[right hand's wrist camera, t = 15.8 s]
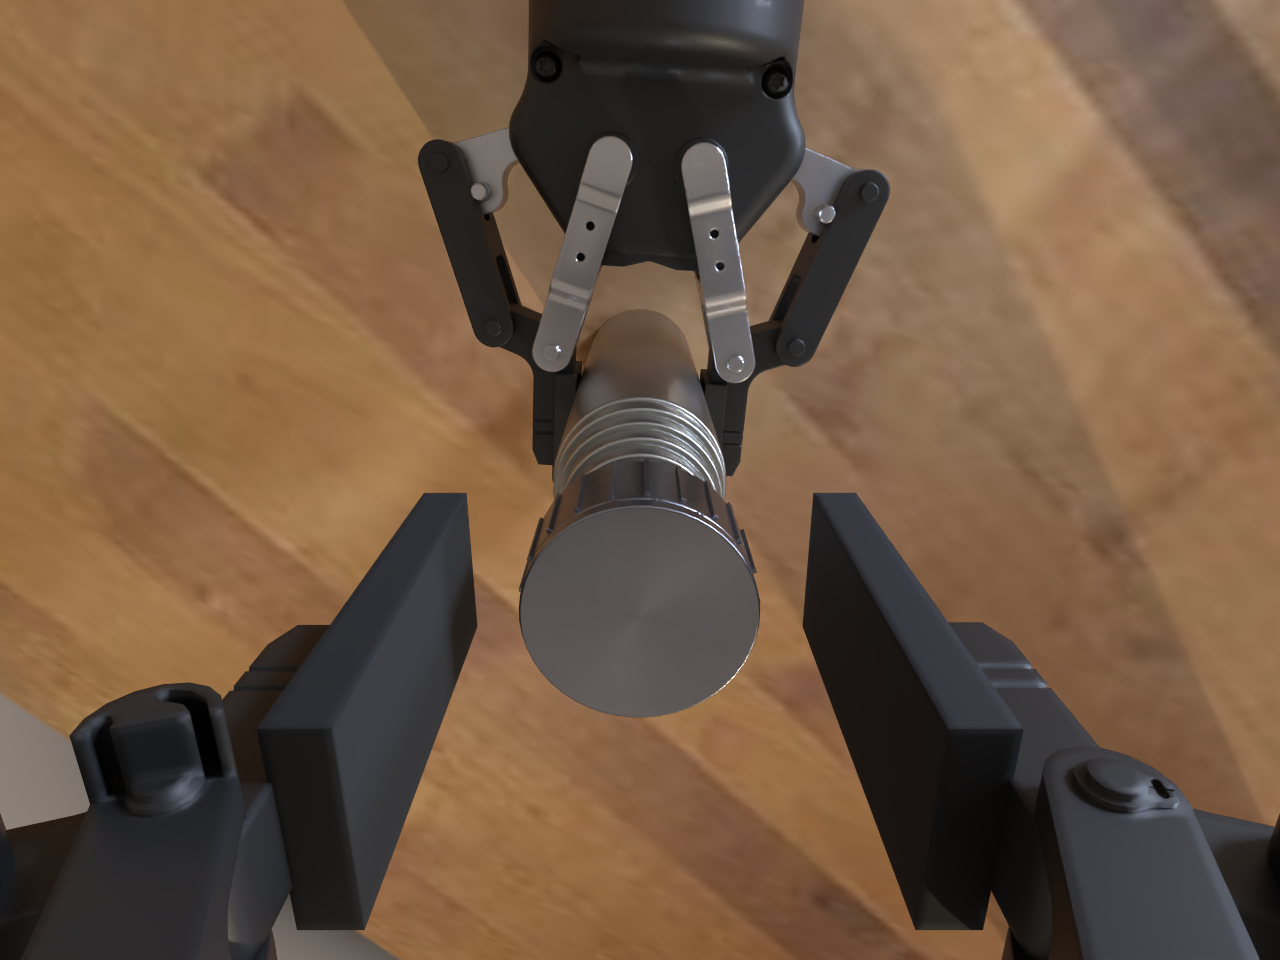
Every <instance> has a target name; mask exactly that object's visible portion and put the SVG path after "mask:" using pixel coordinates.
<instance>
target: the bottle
mask: <svg viewBox="0 0 1280 960" xmlns="http://www.w3.org/2000/svg"><path fill="white" fill-rule="evenodd" d="M644 459H649V462H658V463H663V464H666V465H670V466H674V467H677V465H679V466H681V467H682V470H684V471H687V472H689V473H691V474H693V475H695V476H696V477H698V478H700V479H701V480H703V481H704V482H705V481H706V480H707V481H709V482H710V484H711V487H712V488H713V489H714V490H715V491H716V492H717V493H718V494H719V495H720V496H721V497H722V498H723V499H724V501H725V494H726V469H725V463H724V458H723V455H722V452H721V448H720V445H719V442H718V439H717V435H716V432H715V429H714V426H713V422H712V419H711V416H710V413H709V410H708V406H707V403H706V400H705V397H704V393H703V390H702V387H701V384H700V380H699V377H698V374H697V371H696V368H695V364H694V361H693V358H692V355H691V351H690V348H689V345H688V342H687V340H686V338H685V336H684V334H683V333H682V331H681V330H680V328H679V327H678V326H677V325H676V324H675V323H674V322H673V321H672V320H670V319H669V318H667V317H666V316H664V315H662V314H660V313H657V312H654V311H649V310H631V311H626V312H623V313H620V314H618V315H616V316H614V317H613V318H611V319H610V320H608V321H607V322H606V323H605V324H604V325H603V326H602V327H601V328H600V329H599V331H598V332H597V334H596V335H595V337H594V340H593V342H592V345H591V348H590V351H589V354H588V357H587V361H586V364H585V367H584V370H583V373H582V377H581V380H580V383H579V386H578V389H577V393H576V396H575V399H574V402H573V405H572V408H571V412H570V415H569V418H568V421H567V424H566V428H565V431H564V434H563V437H562V440H561V444H560V447H559V450H558V453H557V456H556V460H555V466H554V480H553V481H554V490H553V491H554V498H555V495H556V494H557V493H558V492H559V493H560V494H561V493H562V492H563V491H564V490H565V489H566V488H567V487H568V486H569V485H571V484H572V483H574V482H575V481H576V480H578V479H579V478H580V475H581V474H583V473H584V474H585V475H586V474H588V473H590V472H592V471H594V470H597V469H600V468H602V467H605V466H609V465H610V464H611V462H615V463H616V464H617V463H623V462H632V461H644Z"/></svg>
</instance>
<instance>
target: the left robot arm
mask: <svg viewBox="0 0 1280 960" xmlns="http://www.w3.org/2000/svg"><path fill="white" fill-rule="evenodd" d="M803 4H804V0H529V50H528V74H527V80H526V84H525V88H524V90H523V93H522V96H521V98H520V100H519V102H518V104H517V105H516V107H515V109H514V111H513V113H512V116H511V119H510V124H509V127H508V128H505V129H501V130H498V131H495V132H491V133H488V134H484V135H481V136H477V137H474V138H471V139H467V140H464V141H460V142H457V143H452V142H448V141H444V140H438V139H437V140H432V141H429V142H427V143H426V144H425V145H424V146H423V147H422V149H421V150H420V153H419V156H418V165H419V169H420V172H421V175H422V178H423V181H424V184H425V187H426V190H427V193H428V196H429V199H430V202H431V205H432V208H433V211H434V214H435V217H436V220H437V223H438V226H439V229H440V232H441V235H442V238H443V241H444V244H445V247H446V250H447V253H448V256H449V259H450V262H451V265H452V268H453V271H454V274H455V277H456V280H457V283H458V286H459V289H460V292H461V295H462V298H463V301H464V304H465V307H466V310H467V313H468V316H469V319H470V322H471V325H472V328H473V331H474V333H475V336H476V337H477V339H478V340H479V341H480V342H481V343H482V344H484V345H486V346H489V347H501V348H503V349H506V350H508V351H510V352H513V353H515V354H517V355H519V356H521V357H523V358H524V359H525V360H526V361H527V362H528V363H529V365H530V366H531V368H532V371H533V375H534V395H533V452H534V454H535V457H536V459H537V462H538V464H543V465H553V470H552V479H553V480H554V466H555V460H556V456H557V453H558V450H559V447H560V444H561V440H562V437H563V434H564V431H565V428H566V424H567V421H568V418H569V415H570V412H571V408H572V405H573V402H574V399H575V396H576V393H577V389H578V386H579V383H580V380H581V374H582V361H576V345H577V342H578V339H579V336H580V333H581V329H582V326H583V323H584V320H585V317H586V314H587V311H588V308H589V304H590V301H591V298H592V295H593V292H594V289H595V286H596V283H597V280H598V277H599V274H600V271H601V268H602V265H608V266H628V265H632V264H637V263H642V262H647V261H652V262H655V263H658V264H661V265H664V266H667V267H669V268H672V269H675V270H686V271H694V274H695V279H696V284H697V290H698V294H699V299H700V303H701V308H702V313H703V319H704V324H705V330H706V335H707V341H708V346H709V356H708V367H707V369H701V372H700V384H701V387H702V390H703V393H704V397H705V400H706V403H707V406H708V410H709V413H710V416H711V419H712V422H713V426H714V429H715V432H716V435H717V439H718V442H719V445H720V448H721V452H722V455H723V458H724V463H725V469H726V476H733V474H734V472H735V470H736V468H737V466H738V465H739V463H740V457H741V448H742V439H743V430H744V421H745V411H746V402H747V393H748V388H749V385H750V384H751V382H752V380H753V379H754V378H755V377H756V376H757V375H758V374H760V373H762V372H763V371H766V370H769V369H773V368H776V367H780V366H783V365H788V366H792V367H798V366H801V365H804V364H806V363H807V362H808V361H809V360H810V359H811V358H812V357H813V355H814V353H815V351H816V349H817V347H818V345H819V342H820V340H821V338H822V336H823V334H824V332H825V330H826V328H827V326H828V324H829V322H830V319H831V317H832V315H833V313H834V311H835V309H836V307H837V305H838V303H839V301H840V299H841V296H842V294H843V292H844V290H845V288H846V286H847V284H848V282H849V280H850V278H851V276H852V274H853V271H854V269H855V267H856V265H857V263H858V261H859V259H860V257H861V255H862V253H863V251H864V248H865V246H866V244H867V242H868V240H869V238H870V236H871V234H872V232H873V230H874V228H875V225H876V223H877V221H878V219H879V217H880V215H881V213H882V211H883V209H884V207H885V205H886V203H887V200H888V198H889V194H890V186H889V182H888V180H887V178H886V177H885V176H884V175H883V174H882V173H881V172H879V171H876V170H868V169H860V170H855V169H853V168H851V167H848V166H846V165H844V164H842V163H839V162H837V161H835V160H833V159H830V158H828V157H826V156H824V155H821V154H819V153H817V152H815V151H812V150H810V149H808V148H806V147H805V136H804V132H803V129H802V126H801V124H800V121H799V119H798V116H797V112H796V108H795V101H794V82H795V72H796V64H797V55H798V46H799V38H800V29H801V21H802V12H803ZM519 162H520V164H521V165H522V167H523V169H524V170H525V172H526V173H527V175H528V176H529V178H530V180H531V181H532V183H533V184H534V186H535V187H536V189H537V191H538V192H539V194H540V195H541V197H542V198H543V200H544V202H545V203H546V205H547V206H548V208H549V209H550V211H551V212H552V214H553V216H554V217H555V219H556V220H557V222H558V223H559V225H560V227H561V228H562V230H563V231H564V233H565V237H564V240H563V244H562V247H561V250H560V254H559V257H558V260H557V264H556V267H555V270H554V274H553V277H552V281H551V284H550V289H549V294H548V298H547V301H546V304H545V308H544V311H543V314H540V313H538V312H535V311H533V310H531V309H529V308H526V307H524V306H522V305H521V302H520V299H519V296H518V292H517V289H516V286H515V283H514V279H513V276H512V273H511V270H510V266H509V263H508V260H507V257H506V253H505V250H504V247H503V244H502V241H501V237H500V234H499V231H498V228H497V224H496V221H495V218H494V215H493V212H495V211H498V210H500V209H501V208H502V207H503V206H504V205H505V203H506V202H507V199H508V186H507V179H508V175H509V172H510V170H511V169H512V168H513V167H514V166H515V165H516V164H518V163H519ZM790 181H791V182H792V183H793V184H794V185H795V186H796V188H797V190H798V193H799V204H798V208H797V213H796V216H797V221H798V224H799V225H800V227H801V228H802V229H803V230H805V231H806V232H808V235H807V238H806V240H805V242H804V244H803V246H802V249H801V251H800V253H799V255H798V257H797V260H796V262H795V264H794V266H793V269H792V271H791V273H790V275H789V277H788V280H787V282H786V284H785V286H784V288H783V291H782V293H781V295H780V297H779V299H778V302H777V304H776V306H775V308H774V311H773V313H772V315H771V317H770V319H769V321H767V322H764V323H760V324H757V325H753V326H750V327H749V320H748V314H747V308H746V292H745V285H744V279H743V273H742V267H741V261H740V255H739V248H738V243H739V242H740V241H741V239H742V238H743V237H744V236H745V235H746V233H747V232H748V231H749V230H750V229H751V227H752V226H753V225H754V224H755V223H756V221H757V220H758V219H759V218H760V217H761V215H762V214H763V213H764V212H765V211H766V209H767V208H768V207H769V206H770V205H771V203H772V202H773V201H774V200H775V199H776V197H777V196H778V195H779V194H780V193H781V191H782V190H783V189H784V188H785V187H786V185H787V184H788V183H789V182H790ZM553 482H554V481H553Z"/></svg>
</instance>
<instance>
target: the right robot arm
mask: <svg viewBox="0 0 1280 960" xmlns="http://www.w3.org/2000/svg"><path fill="white" fill-rule="evenodd" d="M476 629H477V616H476V604H475V592H474V579H473V567H472V555H471V543H470V530H469V518H468V506H467V494H466V493H424V494H423V495H422V497H421V498H420V499H419V501H418V502H417V504H416V505H415V506H414V508H413V509H412V511H411V512H410V513H409V515H408V516H407V518H406V519H405V520H404V522H403V523H402V525H401V526H400V528H399V529H398V530H397V532H396V533H395V535H394V536H393V537H392V539H391V540H390V542H389V543H388V544H387V546H386V547H385V549H384V550H383V551H382V553H381V554H380V556H379V557H378V558H377V560H376V561H375V563H374V564H373V566H372V567H371V568H370V570H369V571H368V573H367V574H366V575H365V577H364V578H363V580H362V581H361V582H360V584H359V585H358V587H357V588H356V589H355V591H354V592H353V594H352V595H351V596H350V598H349V599H348V601H347V602H346V603H345V605H344V606H343V608H342V609H341V611H340V612H339V613H338V615H337V616H336V618H335V619H334V620H333V622H332V623H331V625H297V626H296V627H294V628H293V629H291V630H289V631H288V632H286V633H285V634H283V635H282V636H280V637H279V638H277V639H275V640H274V641H272V642H271V643H269V644H268V645H267V646H266V647H265V648H264V650H263V651H262V652H261V653H260V655H259V656H258V657H257V658H256V660H255V661H254V662H253V663H252V664H251V666H250V667H249V672H245V673H244V674H243V675H242V677H241V678H240V679H239V680H238V682H237V683H236V684H235V685H234V690H233V691H229V693H228V694H227V695H226V696H225V697H224V699H223V700H222V698H221V695H219V694H218V693H217V692H216V691H214V690H213V689H212V688H210V687H209V686H204V685H199V684H194V683H176V684H162V685H159V686H155V687H151V688H147V689H143V690H139V691H135V692H132V693H130V694H128V695H125V696H123V697H121V698H118V699H116V700H114V701H111V702H109V703H107V704H105V705H104V706H102V707H101V708H99V709H98V710H96V711H95V712H93V713H92V714H90V715H89V716H87V717H86V718H84V719H83V721H82V722H81V723H80V724H79V725H78V726H77V728H76V729H75V730H74V731H73V732H72V733H71V734H70V739H71V742H72V746H73V749H74V752H75V756H76V759H77V762H78V766H79V769H80V772H81V775H82V779H83V782H84V785H85V789H86V792H87V795H88V799H89V802H90V806H89V809H88V811H87V812H84V813H81V814H77V815H74V816H69V817H65V818H60V819H56V820H51V821H46V822H42V823H37V824H32V825H28V826H23V827H19V828H14V829H10V830H6V828H5V826H4V823H3V820H2V817H1V814H0V960H277V955H276V948H275V942H274V937H273V933H272V927H273V925H274V923H275V921H276V919H277V917H278V915H279V913H280V911H281V909H282V907H283V905H284V903H285V901H286V899H287V897H288V895H289V893H290V897H291V902H292V907H293V912H294V917H295V922H296V927H297V930H365V927H366V924H367V922H368V919H369V916H370V914H371V911H372V908H373V906H374V903H375V900H376V898H377V895H378V892H379V889H380V887H381V884H382V881H383V879H384V876H385V873H386V871H387V868H388V865H389V863H390V860H391V857H392V855H393V852H394V849H395V846H396V844H397V841H398V838H399V836H400V833H401V830H402V828H403V825H404V822H405V820H406V817H407V814H408V812H409V809H410V806H411V803H412V801H413V798H414V795H415V793H416V790H417V787H418V785H419V782H420V779H421V777H422V774H423V771H424V768H425V766H426V763H427V760H428V758H429V755H430V752H431V750H432V747H433V744H434V742H435V739H436V736H437V734H438V731H439V728H440V725H441V723H442V720H443V717H444V715H445V712H446V709H447V707H448V704H449V701H450V699H451V696H452V693H453V691H454V688H455V685H456V682H457V680H458V677H459V674H460V672H461V669H462V666H463V664H464V661H465V658H466V656H467V653H468V650H469V648H470V645H471V642H472V639H473V637H474V634H475V631H476ZM803 629H804V631H805V634H806V637H807V639H808V642H809V645H810V648H811V650H812V653H813V656H814V658H815V661H816V664H817V666H818V669H819V672H820V674H821V677H822V680H823V682H824V685H825V688H826V691H827V693H828V696H829V699H830V701H831V704H832V707H833V709H834V712H835V715H836V717H837V720H838V723H839V725H840V728H841V731H842V734H843V736H844V739H845V742H846V744H847V747H848V750H849V752H850V755H851V758H852V760H853V763H854V766H855V768H856V771H857V774H858V777H859V779H860V782H861V785H862V787H863V790H864V793H865V795H866V798H867V801H868V803H869V806H870V809H871V812H872V814H873V817H874V820H875V822H876V825H877V828H878V830H879V833H880V836H881V838H882V841H883V844H884V846H885V849H886V852H887V855H888V857H889V860H890V863H891V865H892V868H893V871H894V873H895V876H896V879H897V881H898V884H899V887H900V889H901V892H902V895H903V898H904V900H905V903H906V906H907V908H908V911H909V914H910V916H911V919H912V922H913V924H914V927H915V930H983V927H984V922H985V917H986V912H987V907H988V902H989V897H990V893H991V891H992V893H993V895H994V897H995V899H996V901H997V903H998V905H999V907H1000V909H1001V911H1002V913H1003V915H1004V917H1005V919H1006V921H1007V923H1008V925H1009V928H1008V932H1007V937H1006V942H1005V946H1004V951H1003V955H1002V960H1280V814H1279V817H1278V820H1277V823H1276V826H1275V827H1273V826H1268V825H1264V824H1259V823H1255V822H1250V821H1245V820H1241V819H1236V818H1232V817H1227V816H1222V815H1218V814H1213V813H1208V812H1205V811H1201V810H1197V809H1194V808H1192V807H1191V805H1190V803H1189V802H1188V800H1187V799H1186V798H1185V796H1184V795H1183V793H1182V792H1181V791H1180V789H1179V788H1178V787H1177V785H1175V784H1174V783H1173V782H1172V781H1170V780H1169V779H1168V778H1166V777H1165V776H1164V775H1163V774H1161V773H1160V772H1159V771H1157V770H1156V769H1155V768H1153V767H1151V766H1149V765H1147V764H1145V763H1142V762H1140V761H1138V760H1136V759H1134V758H1132V757H1130V756H1128V755H1125V754H1121V753H1118V752H1114V751H1111V750H1107V749H1104V748H1100V747H1099V746H1098V745H1097V744H1096V742H1095V741H1094V740H1093V739H1092V738H1091V736H1090V735H1089V734H1088V733H1087V732H1086V730H1085V729H1084V728H1083V727H1082V725H1081V724H1080V723H1079V722H1078V721H1077V719H1076V718H1075V717H1074V716H1073V715H1072V713H1071V712H1070V711H1069V710H1068V708H1067V707H1066V706H1065V705H1064V704H1063V702H1062V701H1061V700H1060V699H1059V698H1058V696H1057V695H1056V694H1055V693H1054V691H1053V690H1052V689H1051V688H1047V683H1046V682H1045V680H1044V679H1043V678H1042V677H1041V676H1040V674H1039V673H1038V672H1037V671H1036V670H1035V669H1032V668H1031V663H1030V662H1029V661H1028V660H1027V659H1026V657H1025V656H1024V655H1023V654H1022V653H1021V651H1020V650H1019V649H1018V648H1017V646H1016V645H1015V644H1014V643H1013V642H1012V641H1011V640H1009V639H1007V638H1006V637H1004V636H1003V635H1001V634H1000V633H998V632H996V631H995V630H993V629H992V628H990V627H989V626H987V625H986V624H984V623H948V622H947V620H946V619H945V618H944V616H943V615H942V613H941V612H940V611H939V609H938V608H937V606H936V605H935V603H934V602H933V601H932V599H931V598H930V596H929V595H928V594H927V592H926V591H925V589H924V588H923V587H922V585H921V584H920V582H919V581H918V580H917V578H916V577H915V575H914V574H913V573H912V571H911V570H910V568H909V567H908V566H907V564H906V563H905V561H904V560H903V558H902V557H901V556H900V554H899V553H898V551H897V550H896V549H895V547H894V546H893V544H892V543H891V542H890V540H889V539H888V537H887V536H886V535H885V533H884V532H883V530H882V529H881V528H880V526H879V525H878V523H877V522H876V521H875V519H874V518H873V516H872V515H871V513H870V512H869V511H868V509H867V508H866V506H865V505H864V504H863V502H862V501H861V499H860V498H859V497H858V495H857V494H856V493H814V494H813V506H812V518H811V530H810V543H809V555H808V567H807V579H806V592H805V604H804V616H803Z"/></svg>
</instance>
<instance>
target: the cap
mask: <svg viewBox="0 0 1280 960" xmlns="http://www.w3.org/2000/svg"><path fill="white" fill-rule="evenodd" d="M527 560H528V561H527V564H526V567H525V571H524V574H523V577H522V580H521V584H520V587H519V592H521V593H520V602H519V622H520V627H521V632H522V636H523V639H524V642H525V645H526V648H527V650H528V652H529V654H530V656H531V658H532V660H533V662H534V663H535V664H536V666H537V667H538V669H539V670H540V671H541V673H542V674H543V675H544V676H545V677H546V678H547V679H548V681H549V682H550V683H551V684H552V685H554V686H555V687H556V688H557V689H558V690H560V691H561V692H562V693H564V694H565V695H567V696H568V697H570V698H571V699H573V700H574V701H576V702H578V703H580V704H582V705H584V706H586V707H589V708H592V709H595V710H597V711H600V712H604V713H608V714H612V715H617V716H625V717H653V716H662V715H667V714H671V713H676V712H679V711H682V710H685V709H688V708H690V707H692V706H694V705H697V704H699V703H701V702H703V701H704V700H706V699H708V698H709V697H711V696H713V695H714V694H715V693H717V692H718V691H719V690H721V689H722V688H723V687H724V686H726V685H727V683H728V682H729V681H730V680H731V679H732V678H733V677H734V676H735V675H736V674H737V673H738V671H739V670H740V669H741V667H742V666H743V665H744V663H745V661H746V659H747V658H748V656H749V654H750V652H751V650H752V647H753V645H754V642H755V640H756V636H757V632H758V627H759V619H760V598H759V595H758V590H757V586H756V582H755V578H754V575H753V574H754V573H757V572H756V569H755V565H754V562H753V559H752V555H751V552H750V549H749V546H748V542H747V539H746V536H745V532H744V529H742V530H740V528H739V525H738V523H737V520H736V518H735V515H734V512H733V508H732V505H731V504H730V502H729V503H726V502H725V501H724V499H723V498H722V497H721V496H720V495H719V494H718V493H717V492H716V491H715V490H714V489H713V488H712V487H711V484H710V482H709V481H707V480H706V481H705V482H704V481H703V480H701V479H700V478H698V477H696V476H695V475H693V474H691V473H689V472H687V471H684V470H682V467H681V466H679V465H677V467H674V466H670V465H666V464H663V463H658V462H649V459H644V461H632V462H623V463H617V464H616V463H615V462H611V464H610V465H609V466H605V467H602V468H600V469H597V470H594V471H592V472H590V473H588V474H586V475H585V474H584V473H583V474H581V475H580V478H579V479H578V480H576V481H575V482H574V483H572V484H571V485H569V486H568V487H567V488H566V489H565V490H564V491H563V492H562V493H561V494H560V493H559V492H558V493H557V494H556V495H555V498H554V502H553V503H552V505H551V506H550V508H549V509H548V511H547V513H546V514H545V516H544V518H540V519H539V522H538V525H537V528H536V531H535V535H534V538H533V541H532V545H531V548H530V551H529V554H528V558H527Z"/></svg>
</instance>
